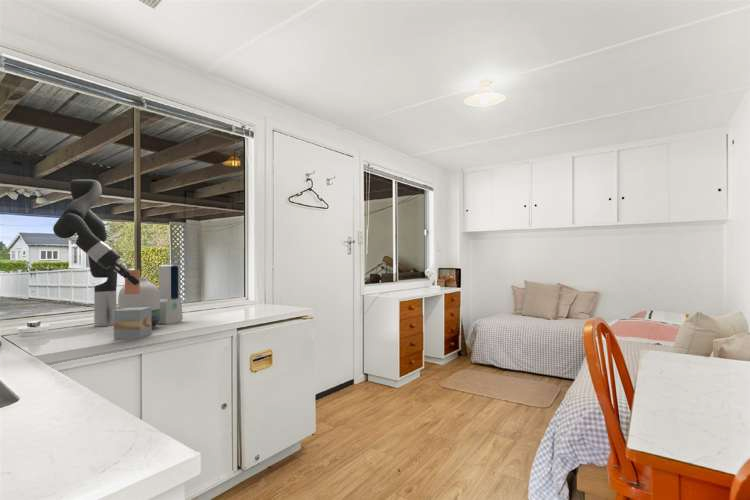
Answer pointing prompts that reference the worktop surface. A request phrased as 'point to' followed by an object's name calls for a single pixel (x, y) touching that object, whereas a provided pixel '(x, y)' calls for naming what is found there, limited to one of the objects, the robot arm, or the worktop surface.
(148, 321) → the tower slab middle
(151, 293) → the vase
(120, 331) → the tower slab bottom
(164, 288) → the electronic device
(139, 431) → the worktop surface
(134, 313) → the tower slab top
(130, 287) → the pillar
